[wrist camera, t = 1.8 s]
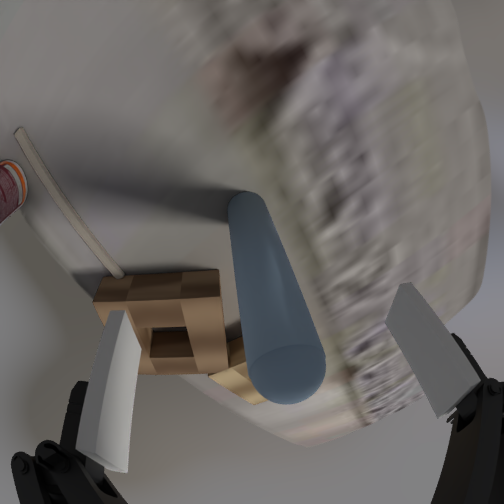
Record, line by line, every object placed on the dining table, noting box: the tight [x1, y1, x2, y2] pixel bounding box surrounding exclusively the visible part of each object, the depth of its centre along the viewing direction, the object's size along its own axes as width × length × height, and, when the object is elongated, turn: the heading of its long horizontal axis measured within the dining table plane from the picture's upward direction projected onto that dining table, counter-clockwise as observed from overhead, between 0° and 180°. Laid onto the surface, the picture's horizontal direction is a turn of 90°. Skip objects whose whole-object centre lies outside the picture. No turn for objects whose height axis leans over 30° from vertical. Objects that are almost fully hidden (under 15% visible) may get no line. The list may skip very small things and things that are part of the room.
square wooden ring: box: [93, 270, 229, 375], centre depth 25 cm, size 11×11×4 cm
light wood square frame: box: [208, 336, 267, 405], centre depth 31 cm, size 10×10×4 cm
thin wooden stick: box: [14, 127, 125, 279], centre depth 19 cm, size 16×1×1 cm, turn 25°
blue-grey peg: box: [227, 192, 326, 404], centre depth 15 cm, size 3×3×16 cm
